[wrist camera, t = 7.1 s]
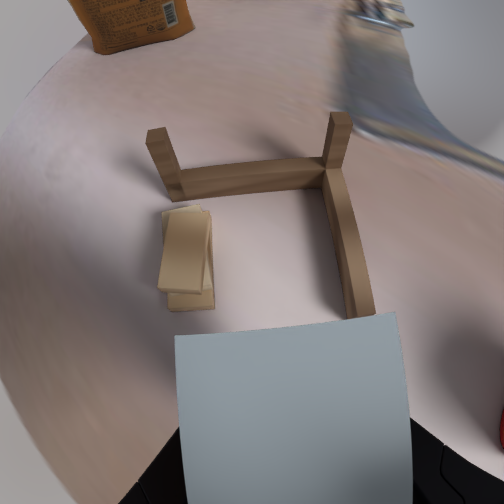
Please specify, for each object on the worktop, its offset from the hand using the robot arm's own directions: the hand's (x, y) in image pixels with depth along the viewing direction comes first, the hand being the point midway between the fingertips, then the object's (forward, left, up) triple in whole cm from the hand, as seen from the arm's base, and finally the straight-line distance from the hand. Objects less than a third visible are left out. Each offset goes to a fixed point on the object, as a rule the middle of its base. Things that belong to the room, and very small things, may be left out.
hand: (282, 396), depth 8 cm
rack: (+9, +4, -12) cm, 15 cm away
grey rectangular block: (-1, -1, -7) cm, 7 cm away
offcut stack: (+6, +9, -12) cm, 16 cm away
